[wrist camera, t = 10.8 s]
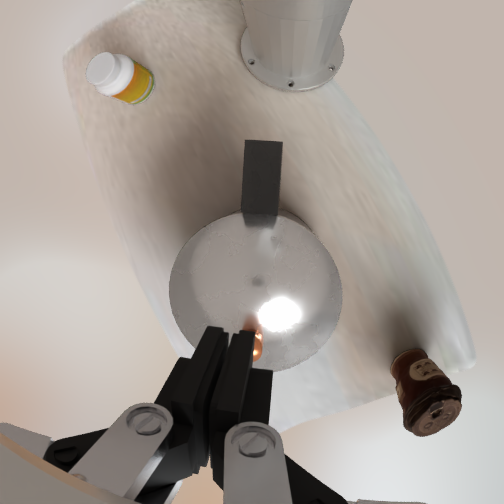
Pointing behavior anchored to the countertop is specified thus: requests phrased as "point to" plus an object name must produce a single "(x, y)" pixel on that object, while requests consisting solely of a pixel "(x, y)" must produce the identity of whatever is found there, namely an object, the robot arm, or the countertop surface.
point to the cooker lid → (258, 273)
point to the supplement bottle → (120, 78)
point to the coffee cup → (424, 393)
